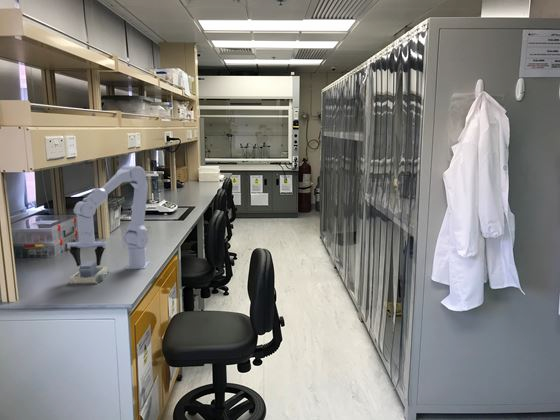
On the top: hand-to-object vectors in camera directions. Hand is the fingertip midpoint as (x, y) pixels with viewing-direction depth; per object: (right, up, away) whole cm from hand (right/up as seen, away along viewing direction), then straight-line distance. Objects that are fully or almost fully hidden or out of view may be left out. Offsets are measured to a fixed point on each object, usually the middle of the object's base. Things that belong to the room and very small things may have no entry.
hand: (88, 265), depth 176 cm
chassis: (0, -5, +1) cm, 5 cm away
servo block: (0, -5, +1) cm, 5 cm away
